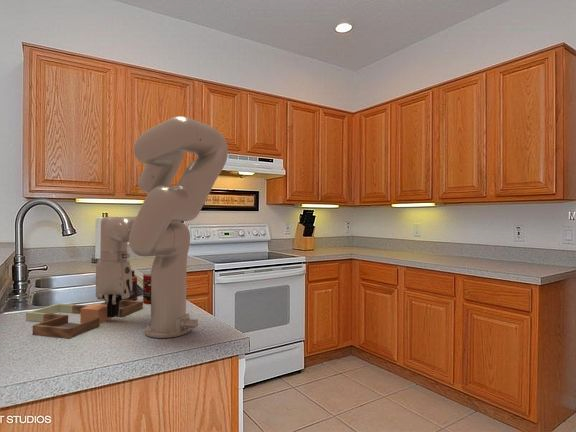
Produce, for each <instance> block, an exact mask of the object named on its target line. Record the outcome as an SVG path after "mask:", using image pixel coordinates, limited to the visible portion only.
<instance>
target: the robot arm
mask: <svg viewBox="0 0 576 432" xmlns="http://www.w3.org/2000/svg"><path fill="white" fill-rule="evenodd" d="M228 148H229V147H228V143H227V140H226V139H225V137H224V135H223V134H222V133H221V132H220V131H219V130H218V129H216V128H215V127H213V126H211V125H209V124H207V123H204V122H202V121H197V120H195V119H193V118H189V117H187V116H181V115H180V116H174V117H171V118H168V119H167V120H165V121H163V122H161V123H158V124H157V125H155V126H152V127H151V128H149V129H147V130H146V131H144V132H142V133H141V135H139V136H138V137H137V139H136V141H135V142H134V146H133V154H134V157H135V159H137V161H139V162H141V163H142V164H145V165H144V168H143V170H142V171H141V174H140V176H139V178H138V181H137V186H138V188H139V189H140V190H141V191H142V192H143V193H145V194H147V195H146V196H145V199H144V200H143V203H142V205H141V207H140V209H139V211H138V213H137V216H106V217H105V216H104V217H103V218H101V221H100V245H99V246H100V248H99V249H100V251H99V252H100V254H99V257H100V259H99V260H100V261H99V263H98V267H97V273H96V272H95V292H96V291H97V296H99V297H102V298H103V299H104V302H105V303H106V304H107V317H111V319H112V318H115V316H118V315H119V303H120V302H121V300H122V299H125V298H128V297H130V295H129V292H131V291H132V271H131V270H132V266H131V261H129V260H128V259H129V258H131V254H130V253H128V245H129V248H130V250H131V251H132V252H133V253H134V254H135V255H137V256H140V257H154V259H153V262H152V265H151V271H150V272H151V304H150V324H149V325H147V326H146V327H145V328H144V334H145V335H146V336H147V337H149V338H155V339H156V338H157V339H169V338H176V337H180V336H183V335H186V334H188V333H189V332H190V331H191V332H192V329H197V328H198V325H199V323H198V322H199V321H198V319H194V318H193V319H191V318H190V313H187V270H188V269H187V268H188V267H187V265H188V254H189V249H190V244H191V233H190V230H189V228H188V227H187V225H186V224H185V223H184V222H189V221H192V220H195V219H196V218H197V217H198V215H199V214H200V212H201V211H202V208H203V207H204V205H205V202H206V201H207V199H208V197H209V194H210V193H211V192H212V189H213V186H214V185H215V183H216V181H217V179H218V178H219V176H220V174H221V173H222V171H223V169H224V167H225V166H226V163H227V160H228V154H229V149H228ZM185 152H186V153H190V154H195V155H197V157H196V158H195V159H194V160H192V161H191V162H190V163H189V164H188V165H187V167H186V168H185V170H184V172H183V174H182V175H181V178H180V180H179V181H178V183H177V184H176V185H173V184H172V183H173V180H174V178H175V177H176V175H177V173H178V171H179V169H180V167H181V164H182V163H183V160H184V158H185ZM122 294H123V295H122Z"/></svg>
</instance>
